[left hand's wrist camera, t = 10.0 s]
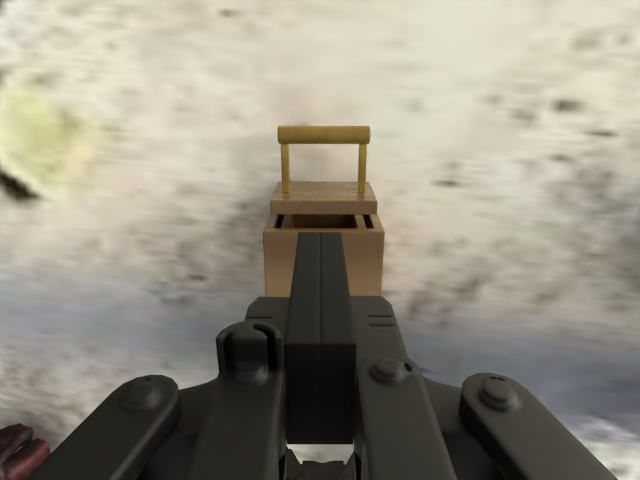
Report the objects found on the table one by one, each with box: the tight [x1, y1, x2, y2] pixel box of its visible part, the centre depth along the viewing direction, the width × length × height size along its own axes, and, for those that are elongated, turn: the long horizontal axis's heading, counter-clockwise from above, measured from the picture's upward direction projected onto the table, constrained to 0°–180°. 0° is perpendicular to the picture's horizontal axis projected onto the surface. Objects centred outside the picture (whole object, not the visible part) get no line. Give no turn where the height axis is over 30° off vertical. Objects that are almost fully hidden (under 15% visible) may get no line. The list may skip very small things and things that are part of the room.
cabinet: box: [263, 212, 385, 297], centre depth 41 cm, size 20×10×8 cm, turn 0°
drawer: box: [270, 126, 377, 229], centre depth 39 cm, size 25×9×6 cm, turn 0°
